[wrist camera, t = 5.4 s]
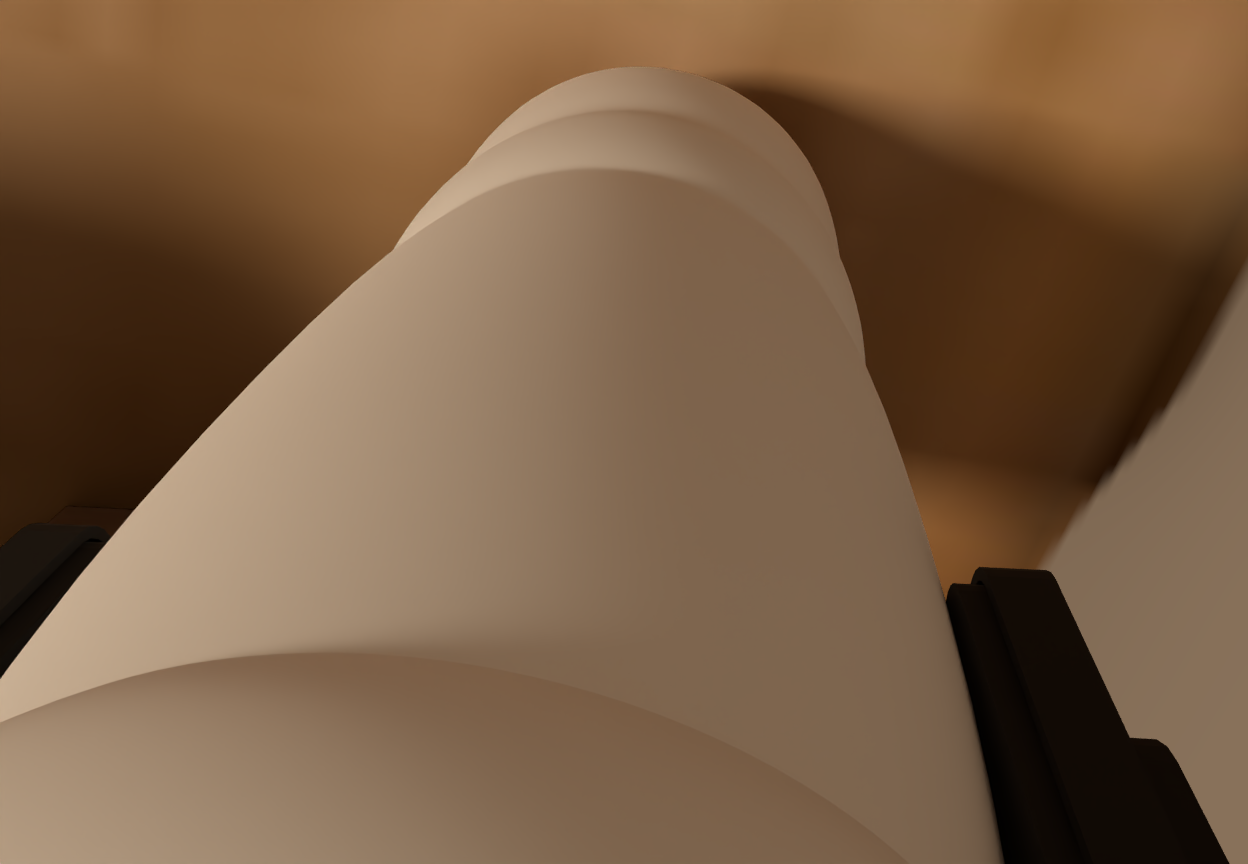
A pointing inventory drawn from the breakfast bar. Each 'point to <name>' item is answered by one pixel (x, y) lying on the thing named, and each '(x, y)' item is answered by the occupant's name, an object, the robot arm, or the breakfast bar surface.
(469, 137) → the breakfast bar surface
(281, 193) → the breakfast bar surface
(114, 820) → the water bottle
